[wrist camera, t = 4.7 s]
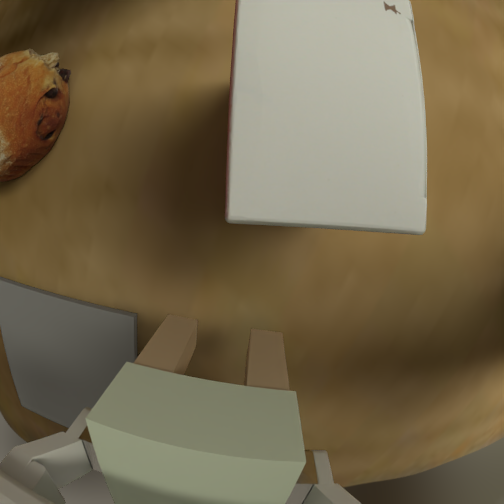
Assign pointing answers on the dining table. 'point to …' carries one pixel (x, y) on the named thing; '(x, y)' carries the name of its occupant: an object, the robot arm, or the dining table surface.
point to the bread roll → (30, 109)
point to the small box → (326, 117)
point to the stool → (199, 426)
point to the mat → (62, 349)
